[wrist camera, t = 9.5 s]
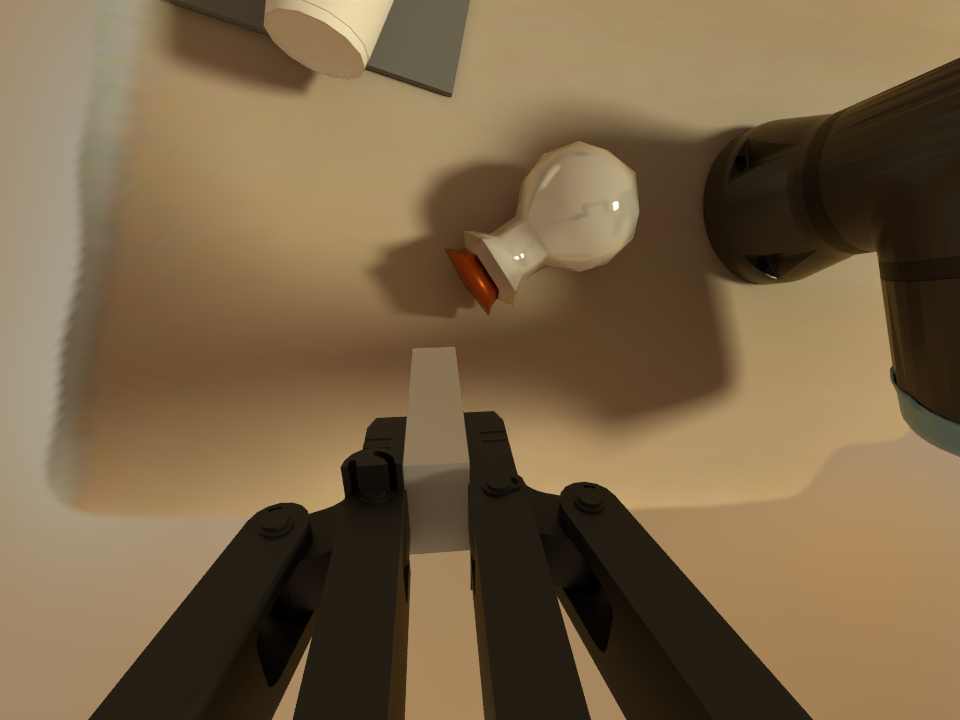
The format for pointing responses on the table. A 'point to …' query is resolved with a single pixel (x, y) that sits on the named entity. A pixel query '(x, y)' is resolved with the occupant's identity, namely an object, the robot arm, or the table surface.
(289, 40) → the foam cup
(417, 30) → the mat
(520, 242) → the potion bottle
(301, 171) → the table surface
